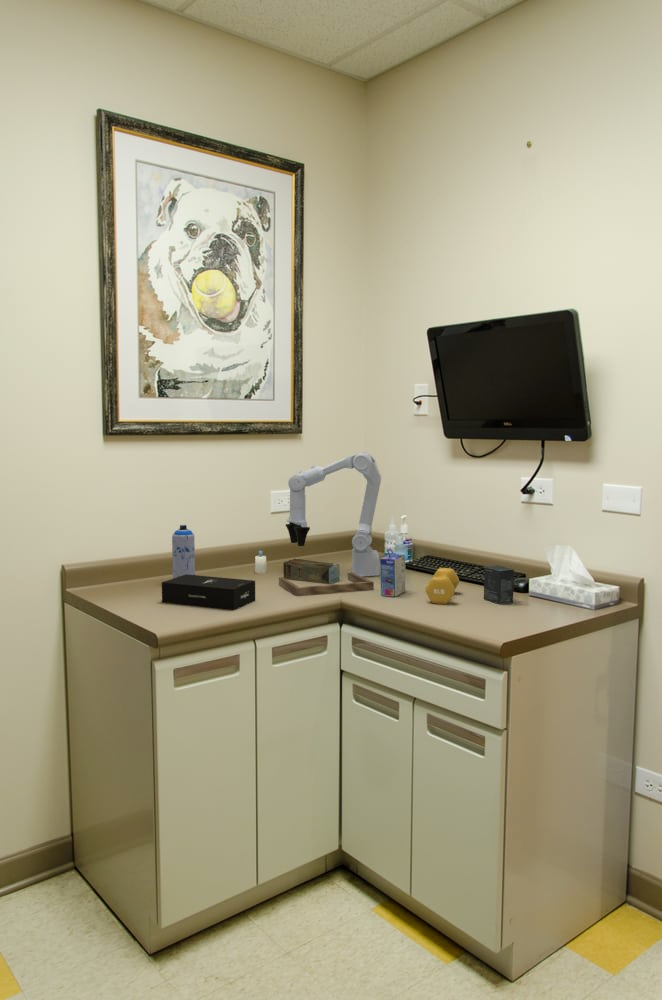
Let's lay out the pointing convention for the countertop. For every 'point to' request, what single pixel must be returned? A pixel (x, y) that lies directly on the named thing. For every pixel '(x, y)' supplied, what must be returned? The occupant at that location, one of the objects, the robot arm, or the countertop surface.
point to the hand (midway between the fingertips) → (297, 544)
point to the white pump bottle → (260, 563)
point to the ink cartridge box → (392, 574)
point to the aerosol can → (183, 552)
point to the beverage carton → (311, 571)
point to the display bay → (329, 586)
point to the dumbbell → (442, 586)
